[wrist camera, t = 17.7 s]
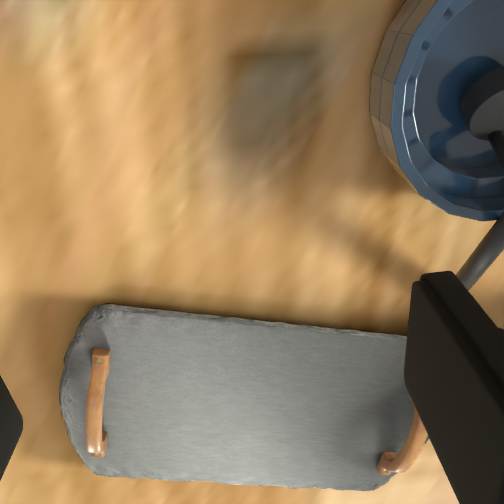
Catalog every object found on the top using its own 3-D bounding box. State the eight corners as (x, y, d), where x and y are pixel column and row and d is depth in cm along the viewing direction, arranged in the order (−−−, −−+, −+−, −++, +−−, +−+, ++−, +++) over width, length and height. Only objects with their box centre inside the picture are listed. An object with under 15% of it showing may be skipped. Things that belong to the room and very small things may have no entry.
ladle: (476, 67, 30) (528, 167, 26) (550, 61, 30) (615, 159, 26) (402, 229, 47) (426, 307, 42) (450, 225, 47) (480, 302, 42)
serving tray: (467, 326, 45) (500, 371, 40) (392, 473, 56) (410, 523, 51) (64, 281, 40) (39, 325, 35) (68, 452, 51) (50, 506, 46)
